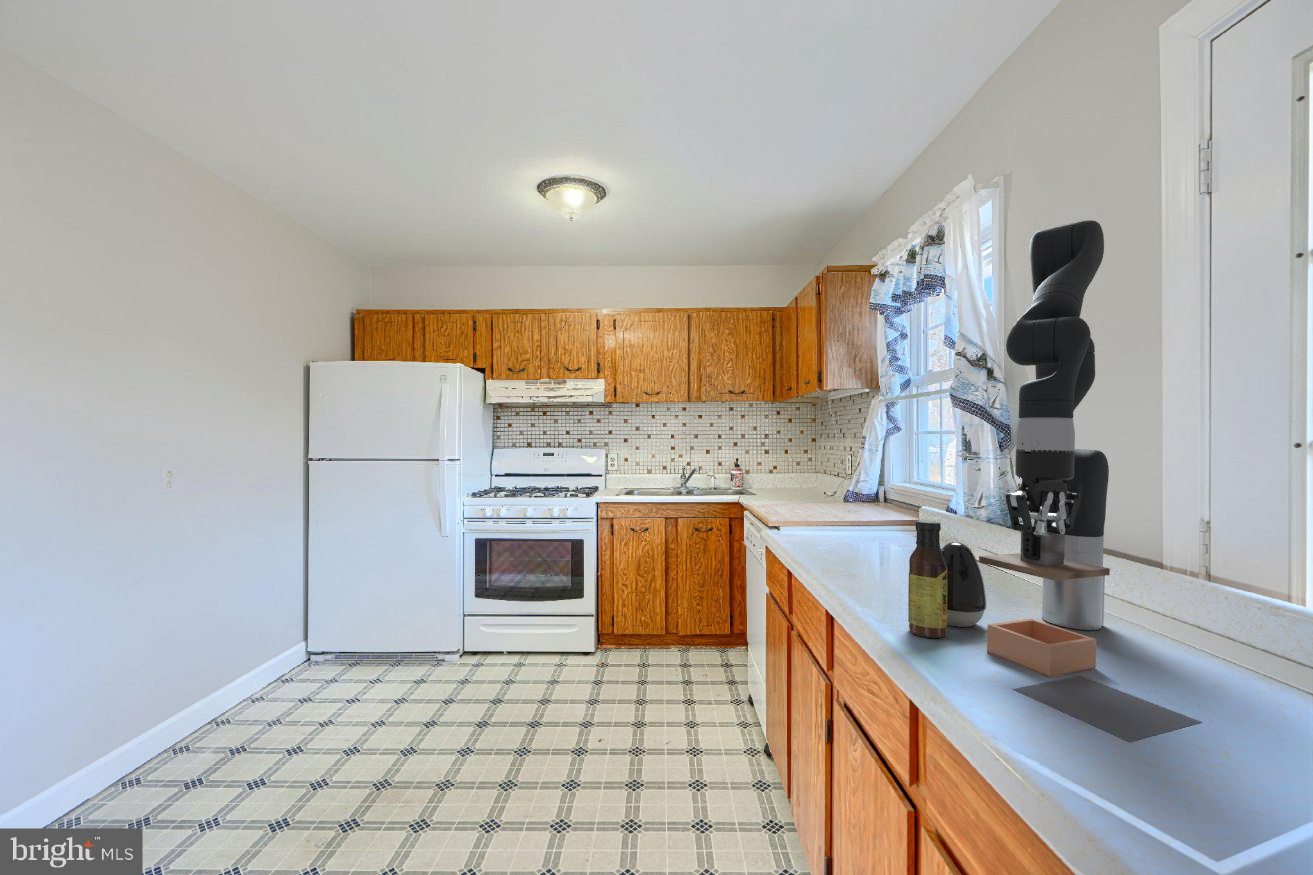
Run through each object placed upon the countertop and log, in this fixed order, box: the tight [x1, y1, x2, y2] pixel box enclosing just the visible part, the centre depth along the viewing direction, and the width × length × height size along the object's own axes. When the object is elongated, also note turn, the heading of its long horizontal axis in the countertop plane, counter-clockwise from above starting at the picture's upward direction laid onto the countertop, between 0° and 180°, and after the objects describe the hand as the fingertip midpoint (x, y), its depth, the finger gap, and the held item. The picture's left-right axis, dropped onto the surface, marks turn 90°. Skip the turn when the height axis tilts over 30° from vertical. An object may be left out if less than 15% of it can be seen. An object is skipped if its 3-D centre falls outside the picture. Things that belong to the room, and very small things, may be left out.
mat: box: [1012, 675, 1203, 743], centre depth 73 cm, size 14×14×1 cm
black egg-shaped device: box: [941, 541, 988, 628], centre depth 106 cm, size 10×10×15 cm
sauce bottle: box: [907, 519, 948, 639], centre depth 100 cm, size 7×6×20 cm
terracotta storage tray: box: [986, 618, 1097, 679], centre depth 87 cm, size 10×10×5 cm
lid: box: [978, 530, 1111, 581], centre depth 87 cm, size 12×12×6 cm
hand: (1041, 557), depth 87 cm, fingers closed on lid, 4 cm apart
